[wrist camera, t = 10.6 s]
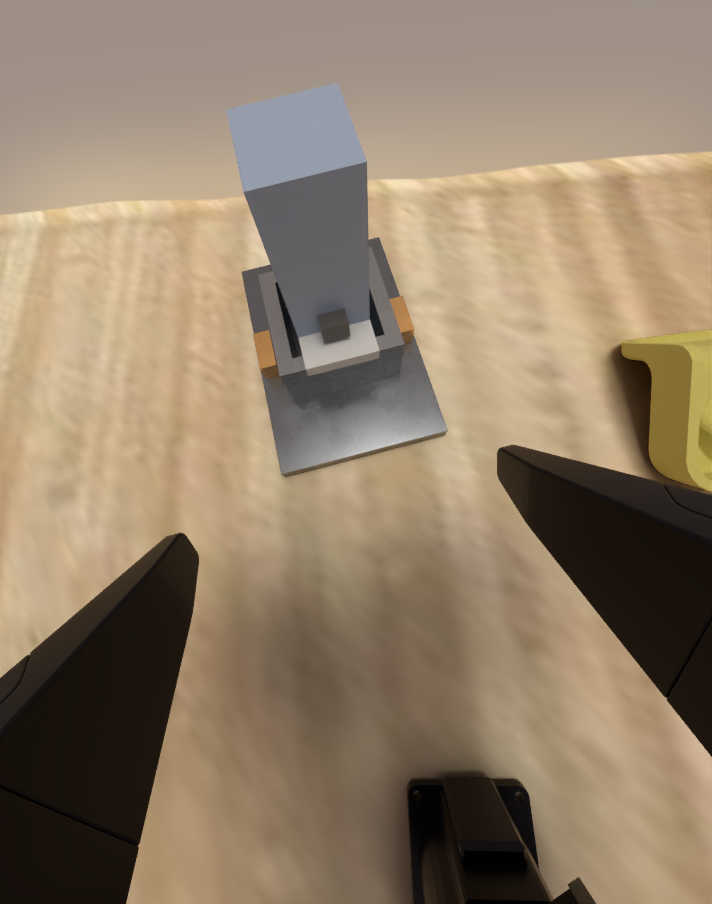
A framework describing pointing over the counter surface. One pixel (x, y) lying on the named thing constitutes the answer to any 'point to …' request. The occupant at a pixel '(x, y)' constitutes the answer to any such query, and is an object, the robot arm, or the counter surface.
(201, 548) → the counter surface
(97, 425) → the counter surface
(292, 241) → the grey tall block
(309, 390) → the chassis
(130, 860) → the robot arm
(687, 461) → the plastic component
